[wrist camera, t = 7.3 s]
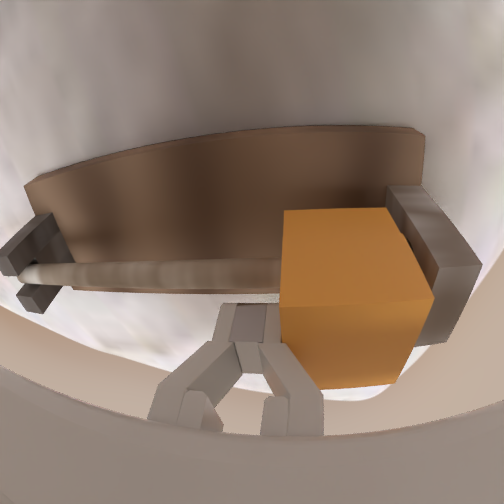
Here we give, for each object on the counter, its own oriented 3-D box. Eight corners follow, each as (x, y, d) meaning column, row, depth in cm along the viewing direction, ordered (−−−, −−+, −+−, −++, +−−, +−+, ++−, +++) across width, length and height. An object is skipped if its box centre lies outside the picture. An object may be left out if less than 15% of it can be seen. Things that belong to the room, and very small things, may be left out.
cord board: (82, 277, 20) (35, 348, 14) (37, 176, 15) (-38, 237, 9) (394, 271, 17) (427, 373, 11) (412, 128, 12) (504, 194, 6)
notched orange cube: (289, 293, 13) (285, 390, 9) (283, 208, 11) (279, 307, 7) (373, 289, 13) (394, 383, 9) (386, 205, 10) (434, 297, 6)
